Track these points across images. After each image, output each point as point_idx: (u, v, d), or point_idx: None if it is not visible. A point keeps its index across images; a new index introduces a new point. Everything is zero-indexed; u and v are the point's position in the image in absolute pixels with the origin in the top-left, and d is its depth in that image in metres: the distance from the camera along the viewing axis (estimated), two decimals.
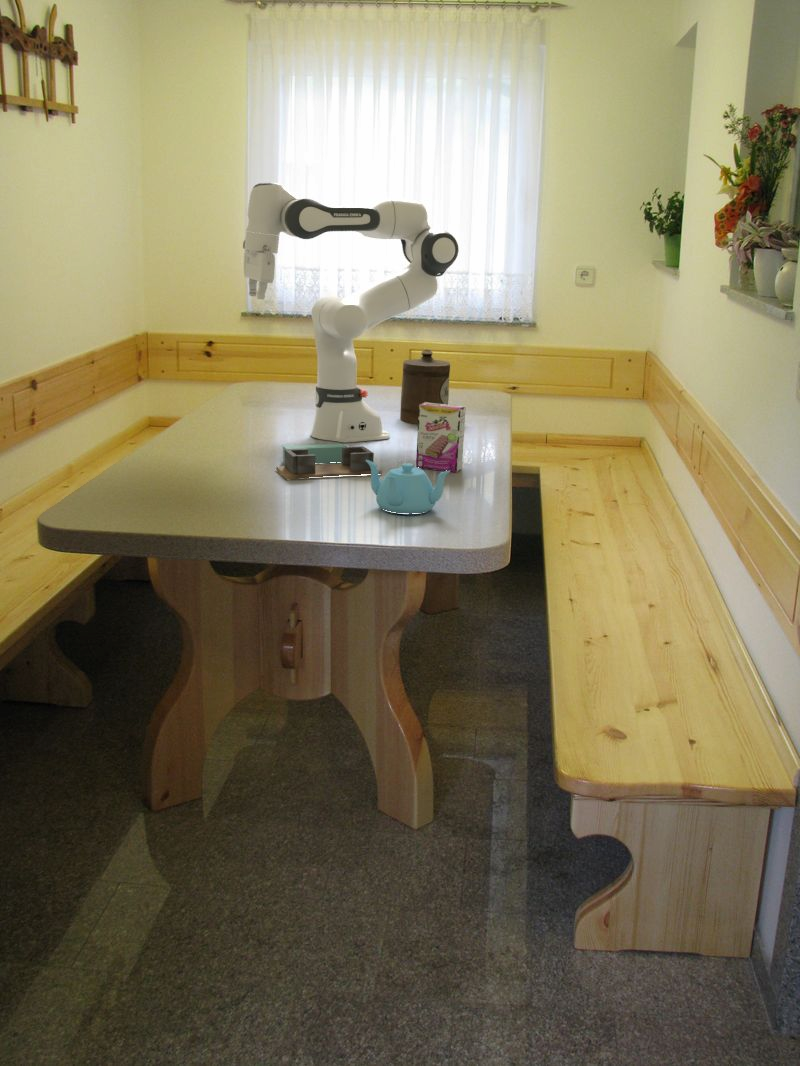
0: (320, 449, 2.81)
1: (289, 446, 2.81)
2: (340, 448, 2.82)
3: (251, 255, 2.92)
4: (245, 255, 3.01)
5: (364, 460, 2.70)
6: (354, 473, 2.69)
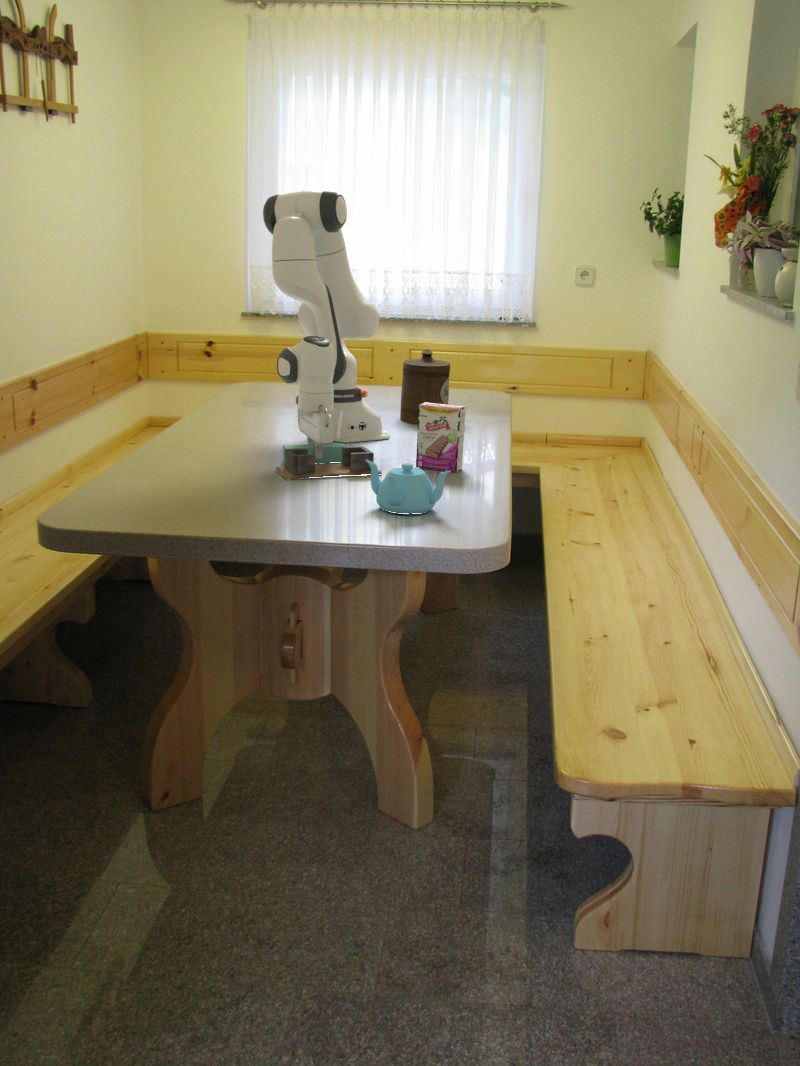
0: None
1: (289, 446, 2.80)
2: (340, 447, 2.82)
3: (306, 415, 2.77)
4: (299, 410, 2.86)
5: (364, 460, 2.70)
6: (354, 473, 2.69)
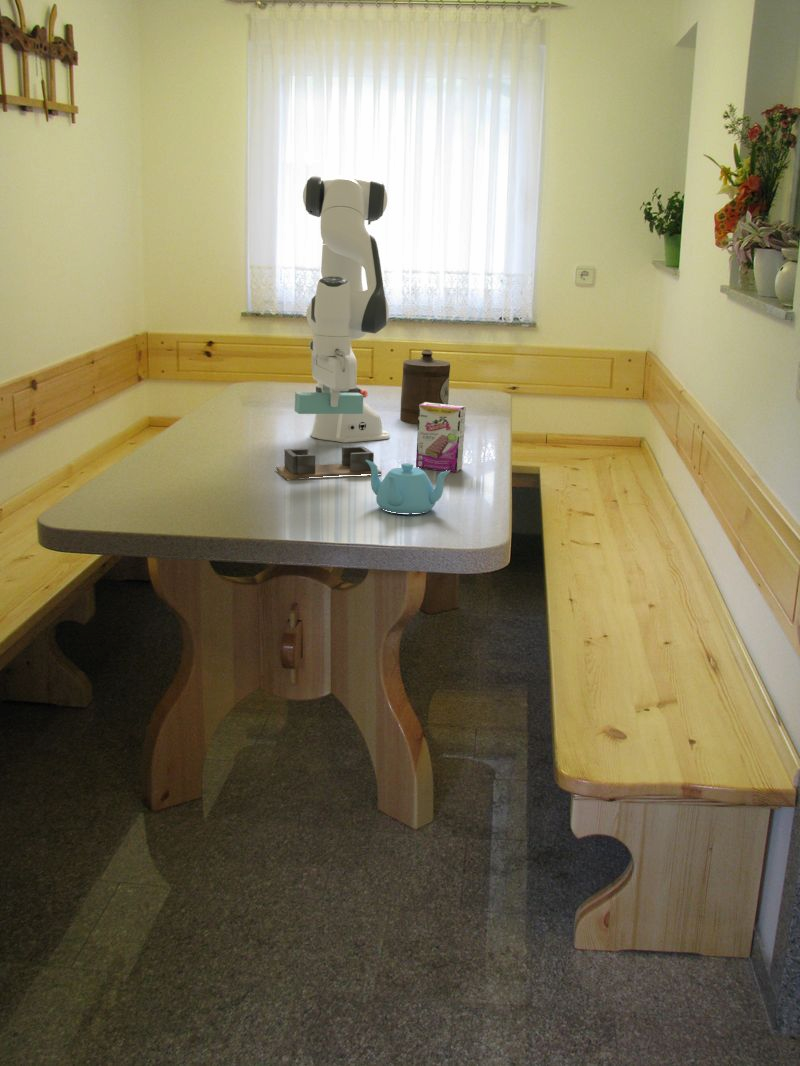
0: None
1: (302, 393, 2.65)
2: (355, 396, 2.67)
3: (322, 360, 2.62)
4: (313, 356, 2.71)
5: (364, 460, 2.70)
6: (354, 473, 2.69)
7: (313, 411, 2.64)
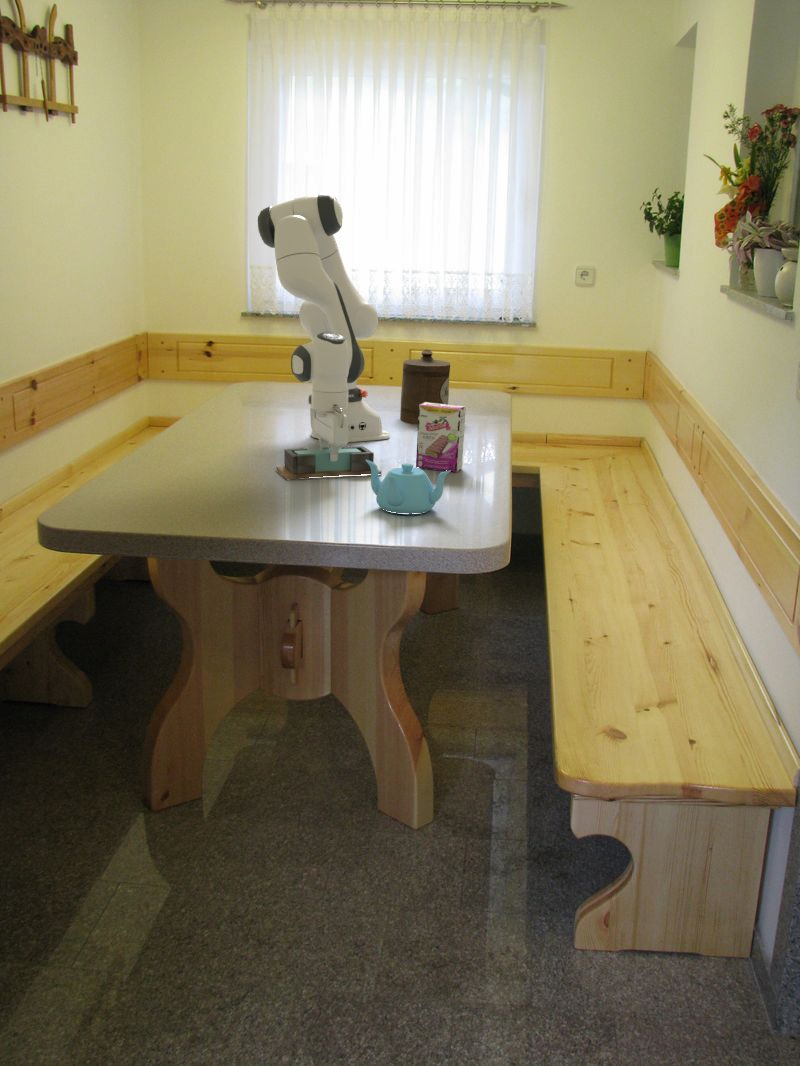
0: None
1: (300, 451, 2.69)
2: None
3: (320, 415, 2.66)
4: (311, 410, 2.75)
5: (364, 460, 2.70)
6: (354, 473, 2.69)
7: None
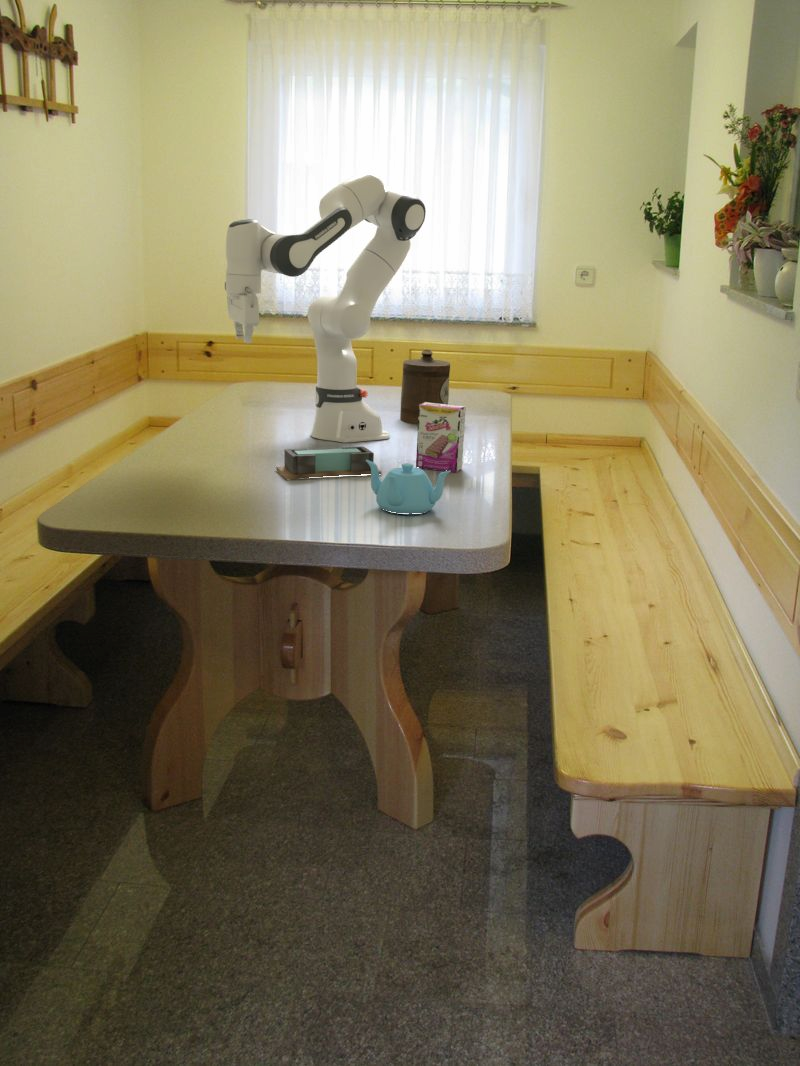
0: (333, 454, 2.69)
1: (300, 451, 2.69)
2: None
3: (233, 298, 2.79)
4: (228, 296, 2.87)
5: (364, 460, 2.70)
6: (354, 473, 2.69)
7: None
